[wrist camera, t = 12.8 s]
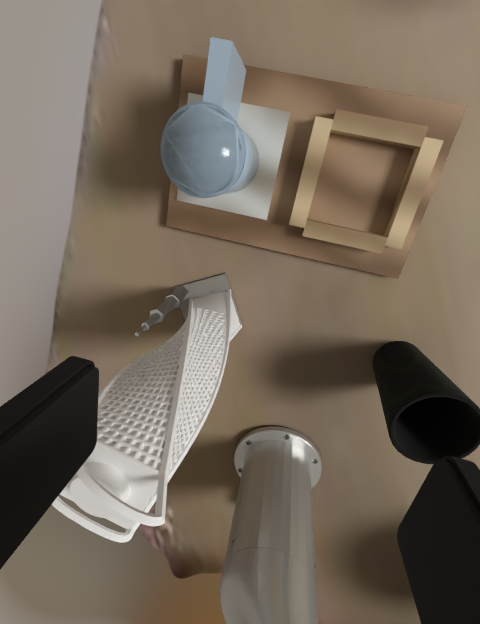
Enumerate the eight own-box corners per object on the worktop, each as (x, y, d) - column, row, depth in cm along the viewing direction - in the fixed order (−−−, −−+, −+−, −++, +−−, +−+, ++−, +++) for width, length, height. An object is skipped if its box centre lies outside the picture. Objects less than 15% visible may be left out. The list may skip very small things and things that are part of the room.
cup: (354, 345, 39) (377, 407, 28) (421, 323, 37) (474, 382, 26) (375, 395, 41) (404, 472, 30) (439, 378, 39) (496, 454, 28)
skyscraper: (237, 269, 38) (111, 443, 12) (256, 330, 40) (185, 582, 15) (173, 287, 40) (-47, 465, 14) (195, 344, 43) (40, 584, 17)
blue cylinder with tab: (253, 200, 33) (235, 206, 24) (195, 187, 34) (156, 188, 25) (276, 85, 29) (265, 41, 20) (210, 72, 30) (171, 24, 21)
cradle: (393, 253, 33) (398, 257, 32) (287, 230, 34) (286, 232, 33) (439, 133, 29) (448, 130, 27) (317, 110, 30) (318, 105, 28)
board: (394, 275, 35) (398, 279, 34) (169, 224, 37) (164, 226, 36) (461, 108, 29) (469, 105, 28) (187, 58, 31) (182, 53, 30)
